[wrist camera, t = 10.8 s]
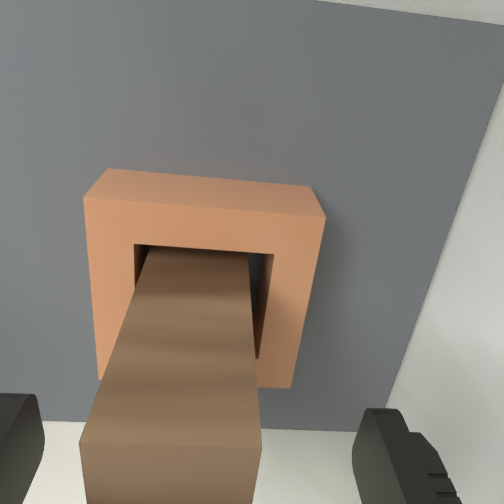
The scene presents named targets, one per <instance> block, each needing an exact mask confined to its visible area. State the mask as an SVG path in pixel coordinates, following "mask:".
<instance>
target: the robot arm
mask: <svg viewBox="0 0 504 504" xmlns="http://www.w3.org/2000/svg"><path fill="white" fill-rule="evenodd" d="M44 444H45V436H44V430H43V425H42V420H41V416H40V411H39V406H38V401H37V397H36V395H35V394H22V393H0V504H22V503H23V501H24V499H25V496H26V494H27V492H28V490H29V487H30V485H31V483H32V480H33V478H34V476H35V473H36V471H37V469H38V467H39V464H40V462H41V459H42V455H43V451H44ZM352 465H353V472H354V476H355V479H356V483H357V487H358V490H359V494H360V498H361V501H362V504H462V503H461V501H460V498H459V497H457V495H456V493H457V492H456V490H455V488H454V486H453V484H452V482H451V480H450V478H448V473H447V471H446V469H445V467H444V465H443V463H442V461H441V459H440V457H439V455H438V452H437V451H436V450H435V449H434V448H433V447H432V445H431V444H430V443H429V442H428V441H427V440H426V439H425V438H424V436H423V435H422V434H421V433H418V432H409V430H408V427H407V425H406V423H405V421H404V418H403V416H402V414H401V413H400V411H399V410H397V409H386V408H367V409H366V410H365V411H364V414H363V417H362V420H361V423H360V426H359V429H358V432H357V435H356V438H355V441H354V444H353V449H352Z"/></svg>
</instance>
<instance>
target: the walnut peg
mask: <svg viewBox="0 0 504 504" xmlns="http://www.w3.org/2000/svg"><path fill="white" fill-rule="evenodd" d="M79 448H80V455H81V463H82V470H83V478H84V486H85V493H86V501H87V504H252V501H253V496H254V490H255V485H256V479H257V473H258V468H259V462H260V456H261V451H262V441H261V428H260V415H259V401H258V388H257V375H256V362H255V348H254V335H253V322H252V309H251V295H250V282H249V269H248V255H247V252H239V251H225V250H212V249H199V248H185V247H172V246H158V245H151V246H150V249H149V252H148V255H147V257H146V260H145V263H144V266H143V268H142V271H141V274H140V276H139V279H138V282H137V285H136V287H135V290H134V293H133V296H132V298H131V301H130V304H129V307H128V309H127V312H126V315H125V318H124V320H123V323H122V326H121V328H120V331H119V334H118V337H117V339H116V342H115V345H114V348H113V350H112V353H111V356H110V359H109V361H108V364H107V367H106V369H105V372H104V375H103V378H102V380H101V383H100V386H99V389H98V391H97V394H96V397H95V400H94V402H93V405H92V408H91V411H90V413H89V416H88V419H87V421H86V424H85V427H84V430H83V432H82V435H81V438H80V441H79Z"/></svg>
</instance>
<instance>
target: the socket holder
mask: <svg viewBox="0 0 504 504" xmlns="http://www.w3.org/2000/svg"><path fill="white" fill-rule="evenodd" d="M503 81H504V25H498V24H490V23H483V22H475V21H468V20H460V19H453V18H445V17H437V16H430V15H422V14H415V13H407V12H400V11H392V10H385V9H377V8H369V7H362V6H354V5H347V4H339V3H332V2H324V1H316V0H0V393H22V394H35V395H36V397H37V401H38V406H39V411H40V416H41V420H42V421H70V422H86V421H87V419H88V416H89V413H90V411H91V408H92V405H93V402H94V400H95V397H96V394H97V391H98V389H99V386H100V383H101V380H102V378H103V375H104V372H105V369H106V367H107V364H108V361H109V359H110V356H111V353H112V350H113V348H114V345H115V342H116V339H117V337H118V334H119V331H120V328H121V326H122V323H123V320H124V318H125V315H126V312H127V309H128V307H129V304H130V301H131V298H132V296H133V293H134V290H135V287H136V285H137V282H138V279H139V276H140V274H141V271H142V268H143V266H144V263H145V260H146V257H147V255H148V252H149V249H150V246H151V245H158V246H172V247H185V248H199V249H212V250H225V251H239V252H247V255H248V269H249V282H250V295H251V309H252V322H253V335H254V348H255V362H256V375H257V388H258V401H259V415H260V428H265V429H293V430H321V431H348V432H358V429H359V426H360V423H361V420H362V417H363V414H364V411H365V410H366V409H367V408H385V405H386V402H387V399H388V397H389V394H390V391H391V388H392V386H393V383H394V380H395V377H396V375H397V372H398V369H399V366H400V364H401V361H402V358H403V355H404V353H405V350H406V347H407V344H408V342H409V339H410V336H411V333H412V331H413V328H414V325H415V323H416V320H417V317H418V314H419V312H420V309H421V306H422V303H423V301H424V298H425V295H426V292H427V290H428V287H429V284H430V281H431V279H432V276H433V273H434V270H435V268H436V265H437V262H438V259H439V257H440V254H441V251H442V248H443V246H444V243H445V240H446V238H447V235H448V232H449V229H450V227H451V224H452V221H453V218H454V216H455V213H456V210H457V207H458V205H459V202H460V199H461V196H462V194H463V191H464V188H465V185H466V183H467V180H468V177H469V174H470V172H471V169H472V166H473V163H474V161H475V158H476V155H477V153H478V150H479V147H480V144H481V142H482V139H483V136H484V133H485V131H486V128H487V125H488V122H489V120H490V117H491V114H492V111H493V109H494V106H495V103H496V100H497V98H498V95H499V92H500V89H501V87H502V84H503Z"/></svg>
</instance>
